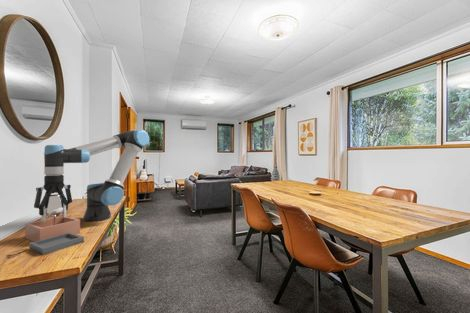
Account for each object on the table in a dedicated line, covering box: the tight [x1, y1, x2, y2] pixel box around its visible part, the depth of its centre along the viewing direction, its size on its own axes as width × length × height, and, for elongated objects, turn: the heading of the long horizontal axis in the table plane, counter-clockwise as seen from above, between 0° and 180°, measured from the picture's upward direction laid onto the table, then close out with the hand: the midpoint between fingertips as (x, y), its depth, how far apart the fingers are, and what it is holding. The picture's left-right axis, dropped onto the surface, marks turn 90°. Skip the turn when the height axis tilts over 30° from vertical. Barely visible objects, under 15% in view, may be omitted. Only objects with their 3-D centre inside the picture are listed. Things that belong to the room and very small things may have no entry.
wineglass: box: [44, 193, 64, 225], centre depth 107 cm, size 8×8×20 cm
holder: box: [24, 215, 81, 242], centre depth 106 cm, size 16×16×7 cm
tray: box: [29, 232, 85, 256], centre depth 94 cm, size 15×13×2 cm
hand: (54, 219), depth 107 cm, fingers closed on wineglass, 8 cm apart
